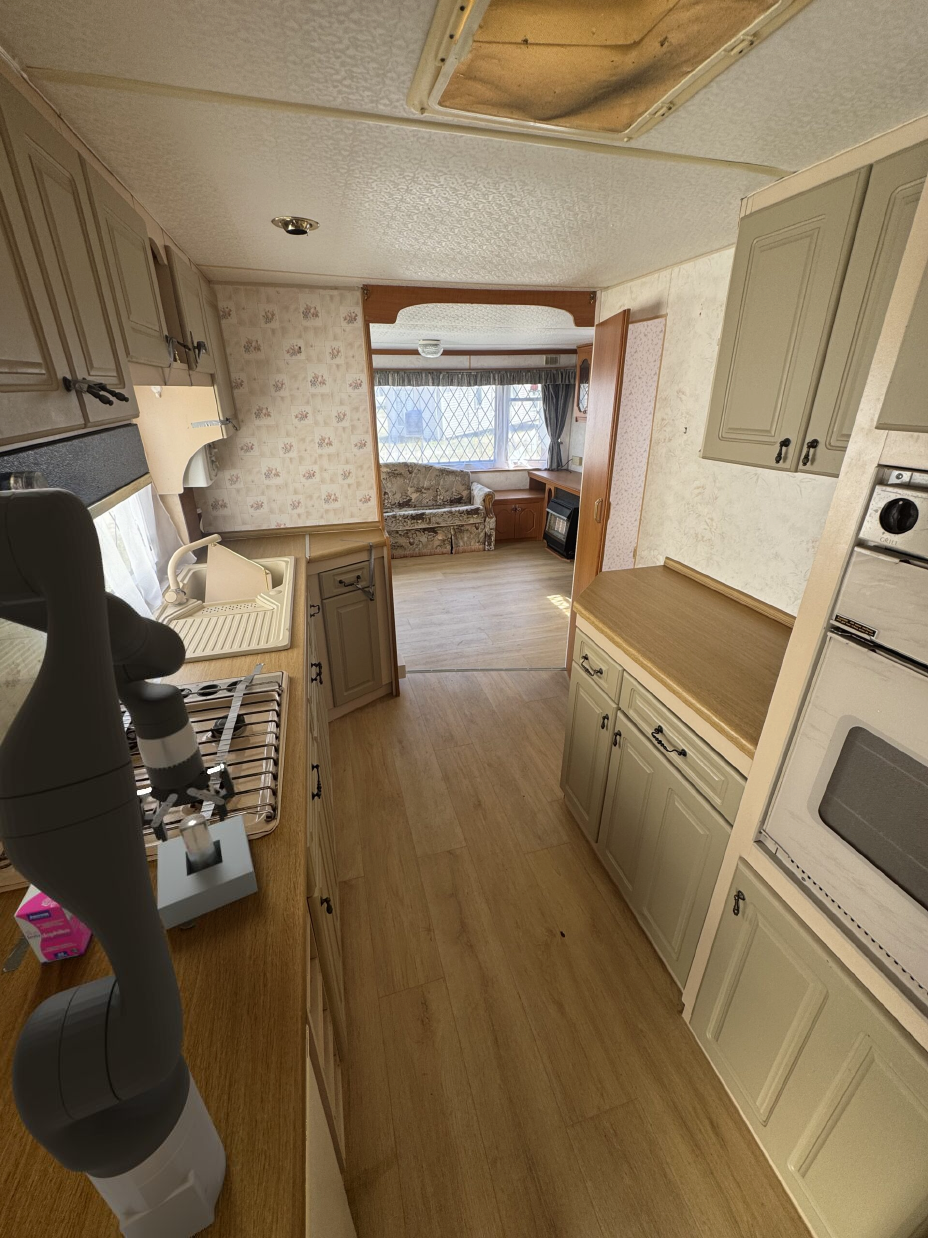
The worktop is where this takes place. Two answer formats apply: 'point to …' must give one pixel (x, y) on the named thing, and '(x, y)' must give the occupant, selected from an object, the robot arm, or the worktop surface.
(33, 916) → the supplement box
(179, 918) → the bore block
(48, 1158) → the worktop surface
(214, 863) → the pin
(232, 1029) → the worktop surface
